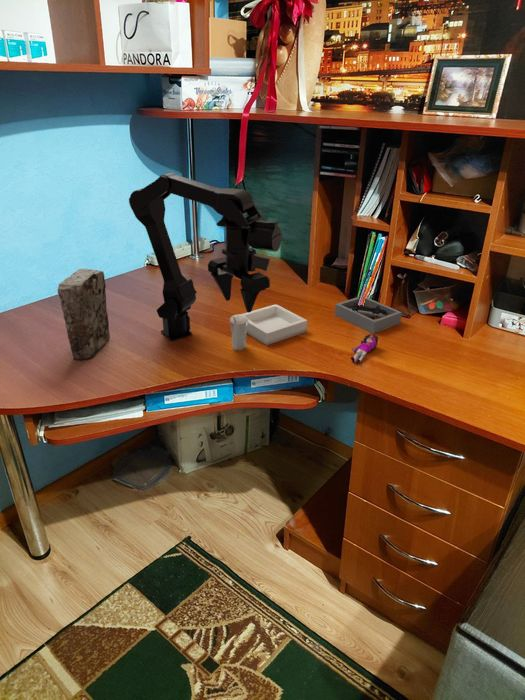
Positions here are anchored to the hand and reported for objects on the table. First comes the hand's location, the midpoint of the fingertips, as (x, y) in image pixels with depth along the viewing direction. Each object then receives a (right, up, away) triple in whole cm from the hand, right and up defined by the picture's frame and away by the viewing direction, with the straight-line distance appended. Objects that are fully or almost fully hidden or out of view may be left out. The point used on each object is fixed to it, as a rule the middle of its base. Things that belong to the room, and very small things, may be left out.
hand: (238, 306), depth 134 cm
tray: (+9, -5, +16) cm, 19 cm away
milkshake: (0, -11, +5) cm, 12 cm away
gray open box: (+37, -2, +22) cm, 43 cm away
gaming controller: (+37, -2, +22) cm, 43 cm away
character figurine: (+32, -12, +4) cm, 34 cm away
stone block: (-38, -11, +4) cm, 40 cm away
